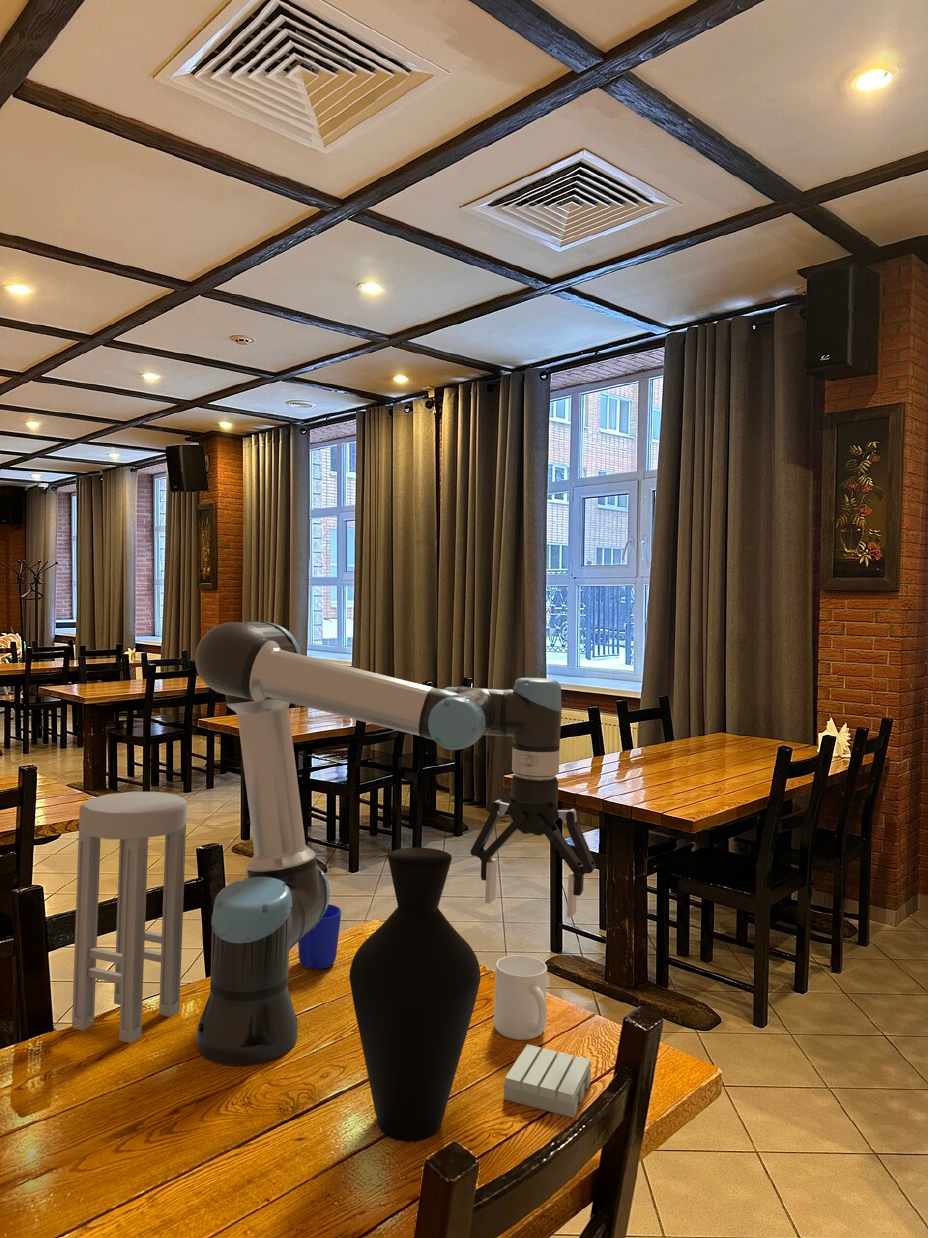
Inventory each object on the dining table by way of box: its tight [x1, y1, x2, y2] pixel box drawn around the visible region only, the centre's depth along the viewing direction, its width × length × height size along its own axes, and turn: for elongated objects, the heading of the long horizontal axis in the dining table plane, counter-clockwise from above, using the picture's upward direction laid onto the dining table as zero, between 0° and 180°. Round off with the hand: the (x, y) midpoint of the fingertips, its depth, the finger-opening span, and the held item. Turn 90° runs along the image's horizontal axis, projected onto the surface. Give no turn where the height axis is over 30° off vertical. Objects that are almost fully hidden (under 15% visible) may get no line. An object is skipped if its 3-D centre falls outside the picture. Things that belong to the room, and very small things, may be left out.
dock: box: [503, 1044, 592, 1119], centre depth 120 cm, size 10×10×3 cm
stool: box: [71, 791, 188, 1044], centre depth 135 cm, size 16×16×35 cm
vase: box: [348, 847, 482, 1143], centre depth 111 cm, size 17×17×35 cm
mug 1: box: [297, 903, 342, 970], centre depth 157 cm, size 8×12×10 cm
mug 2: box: [493, 954, 548, 1041], centre depth 136 cm, size 12×8×10 cm
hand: (530, 908), depth 135 cm, fingers open, 13 cm apart
